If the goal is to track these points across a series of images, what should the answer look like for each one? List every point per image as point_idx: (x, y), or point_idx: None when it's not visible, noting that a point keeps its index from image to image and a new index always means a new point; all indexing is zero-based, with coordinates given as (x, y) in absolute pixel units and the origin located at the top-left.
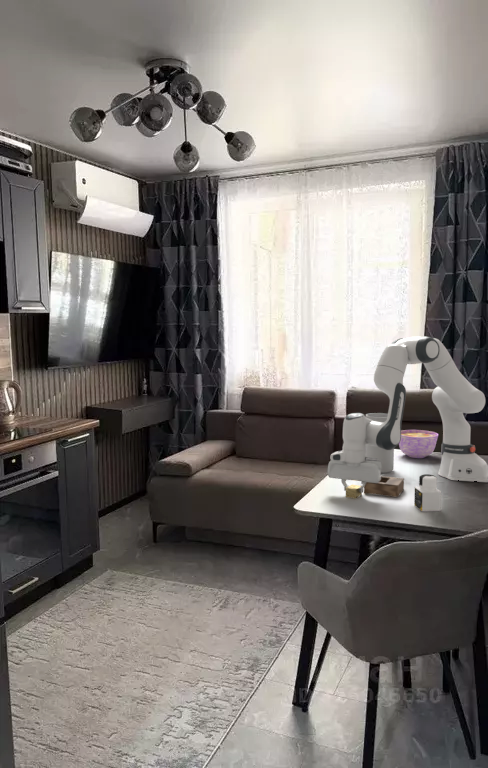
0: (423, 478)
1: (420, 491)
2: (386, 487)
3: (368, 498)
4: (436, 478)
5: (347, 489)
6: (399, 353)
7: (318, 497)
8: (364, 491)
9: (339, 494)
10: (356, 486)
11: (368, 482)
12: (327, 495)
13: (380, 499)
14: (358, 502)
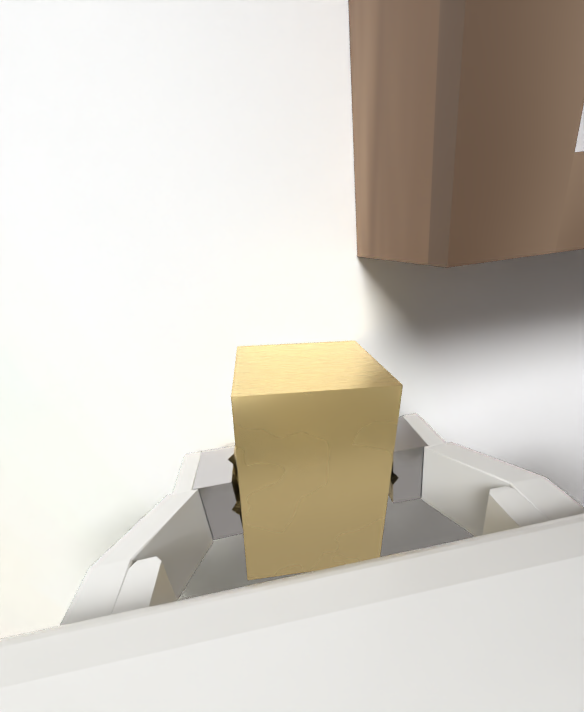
0: None
1: None
2: None
3: (447, 410)
4: None
5: (270, 563)
6: None
7: (56, 615)
8: (370, 255)
9: (149, 456)
10: (340, 451)
11: (528, 253)
12: (75, 540)
13: (551, 377)
14: (396, 536)
